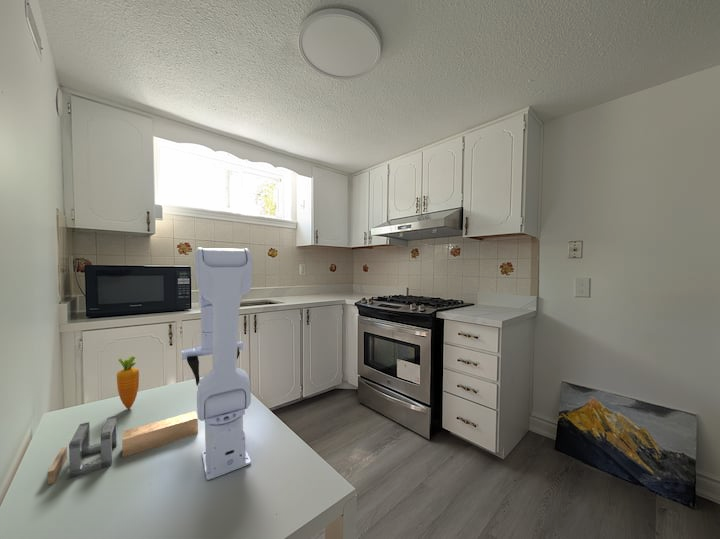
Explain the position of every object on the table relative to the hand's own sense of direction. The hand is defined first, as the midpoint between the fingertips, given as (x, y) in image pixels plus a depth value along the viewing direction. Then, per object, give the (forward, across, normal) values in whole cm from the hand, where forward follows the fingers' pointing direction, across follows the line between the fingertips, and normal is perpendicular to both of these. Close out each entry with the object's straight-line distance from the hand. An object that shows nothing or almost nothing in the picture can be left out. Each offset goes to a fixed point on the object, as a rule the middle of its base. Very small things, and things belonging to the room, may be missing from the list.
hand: (214, 380), depth 76 cm
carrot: (+10, +20, -18) cm, 29 cm away
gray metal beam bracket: (+10, +24, +5) cm, 26 cm away
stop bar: (+10, +29, +5) cm, 30 cm away
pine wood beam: (+10, +12, +5) cm, 16 cm away
